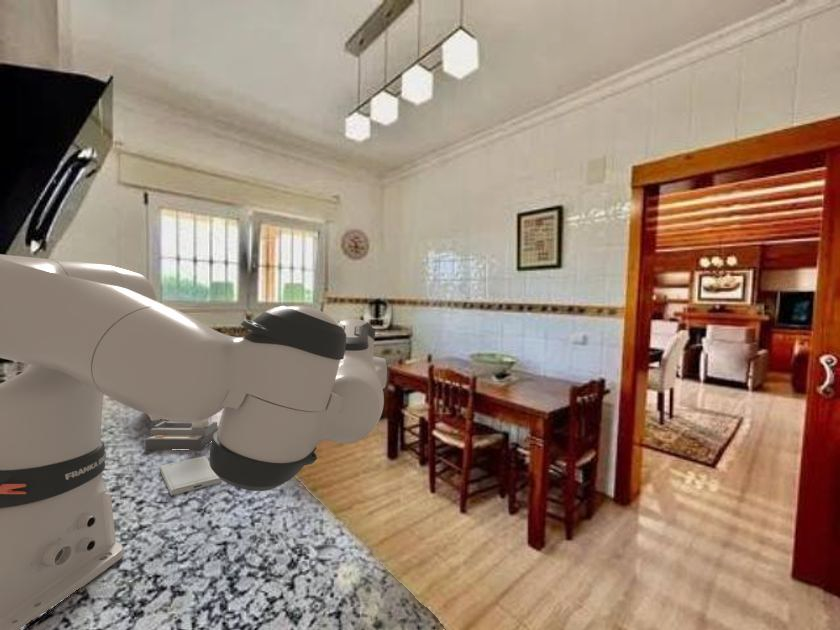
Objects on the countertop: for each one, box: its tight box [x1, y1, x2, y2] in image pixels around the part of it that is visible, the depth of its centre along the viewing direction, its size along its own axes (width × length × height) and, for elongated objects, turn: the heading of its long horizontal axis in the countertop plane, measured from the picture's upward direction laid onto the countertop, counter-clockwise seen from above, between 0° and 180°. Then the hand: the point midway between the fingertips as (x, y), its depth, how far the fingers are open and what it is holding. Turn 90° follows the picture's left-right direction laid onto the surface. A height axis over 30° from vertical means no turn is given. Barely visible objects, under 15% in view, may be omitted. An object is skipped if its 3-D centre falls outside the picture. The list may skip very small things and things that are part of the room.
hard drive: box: [159, 455, 223, 496], centre depth 74 cm, size 2×8×12 cm
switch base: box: [144, 420, 219, 451], centre depth 91 cm, size 10×12×4 cm
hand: (263, 369), depth 93 cm, fingers closed
